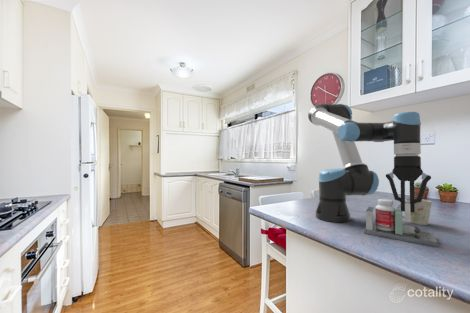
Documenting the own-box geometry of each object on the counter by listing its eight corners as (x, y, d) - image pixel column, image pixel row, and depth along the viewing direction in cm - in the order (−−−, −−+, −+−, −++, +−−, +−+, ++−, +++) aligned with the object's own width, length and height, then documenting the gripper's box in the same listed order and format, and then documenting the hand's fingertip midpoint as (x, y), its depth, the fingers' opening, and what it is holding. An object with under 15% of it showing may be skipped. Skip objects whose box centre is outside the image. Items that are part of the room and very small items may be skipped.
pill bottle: (395, 233, 76) (394, 202, 76) (374, 229, 80) (374, 200, 80) (396, 228, 80) (395, 199, 80) (376, 225, 84) (376, 197, 84)
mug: (436, 226, 87) (436, 202, 87) (402, 224, 90) (402, 201, 90) (423, 220, 95) (423, 198, 95) (392, 219, 98) (391, 197, 98)
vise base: (364, 233, 80) (364, 211, 80) (367, 226, 88) (367, 206, 88) (437, 246, 67) (436, 220, 67) (433, 237, 75) (433, 213, 75)
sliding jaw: (395, 233, 74) (395, 212, 74) (395, 227, 81) (395, 207, 82) (421, 238, 70) (420, 215, 70) (419, 231, 77) (419, 210, 77)
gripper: (384, 155, 77) (384, 220, 77) (432, 155, 69) (433, 227, 69) (385, 155, 83) (386, 215, 83) (430, 155, 75) (431, 221, 75)
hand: (407, 220), depth 76 cm, fingers closed
